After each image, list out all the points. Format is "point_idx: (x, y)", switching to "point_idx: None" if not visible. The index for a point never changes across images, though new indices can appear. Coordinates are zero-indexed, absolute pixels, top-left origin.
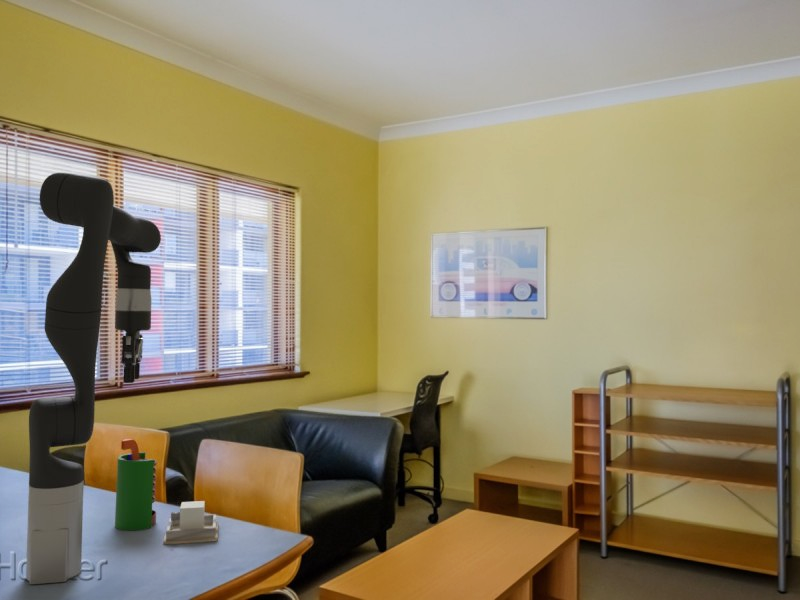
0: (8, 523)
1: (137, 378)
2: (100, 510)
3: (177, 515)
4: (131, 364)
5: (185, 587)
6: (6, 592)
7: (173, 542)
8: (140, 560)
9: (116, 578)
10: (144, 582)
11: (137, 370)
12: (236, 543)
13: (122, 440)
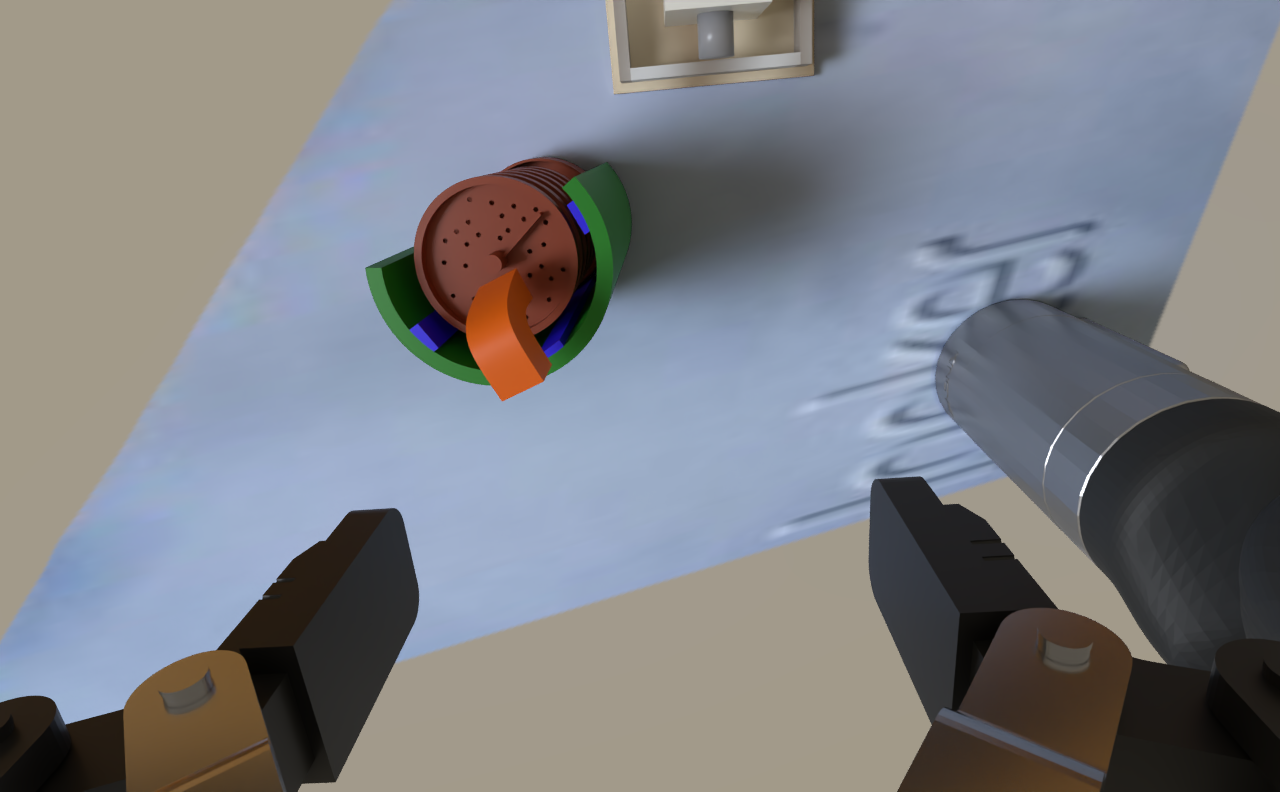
0: (516, 621)
1: (397, 519)
2: (380, 396)
3: (732, 25)
4: (1140, 666)
5: None
6: None
7: (812, 34)
8: (958, 130)
9: (1102, 175)
10: (1171, 73)
11: (356, 588)
12: None
13: (514, 393)
